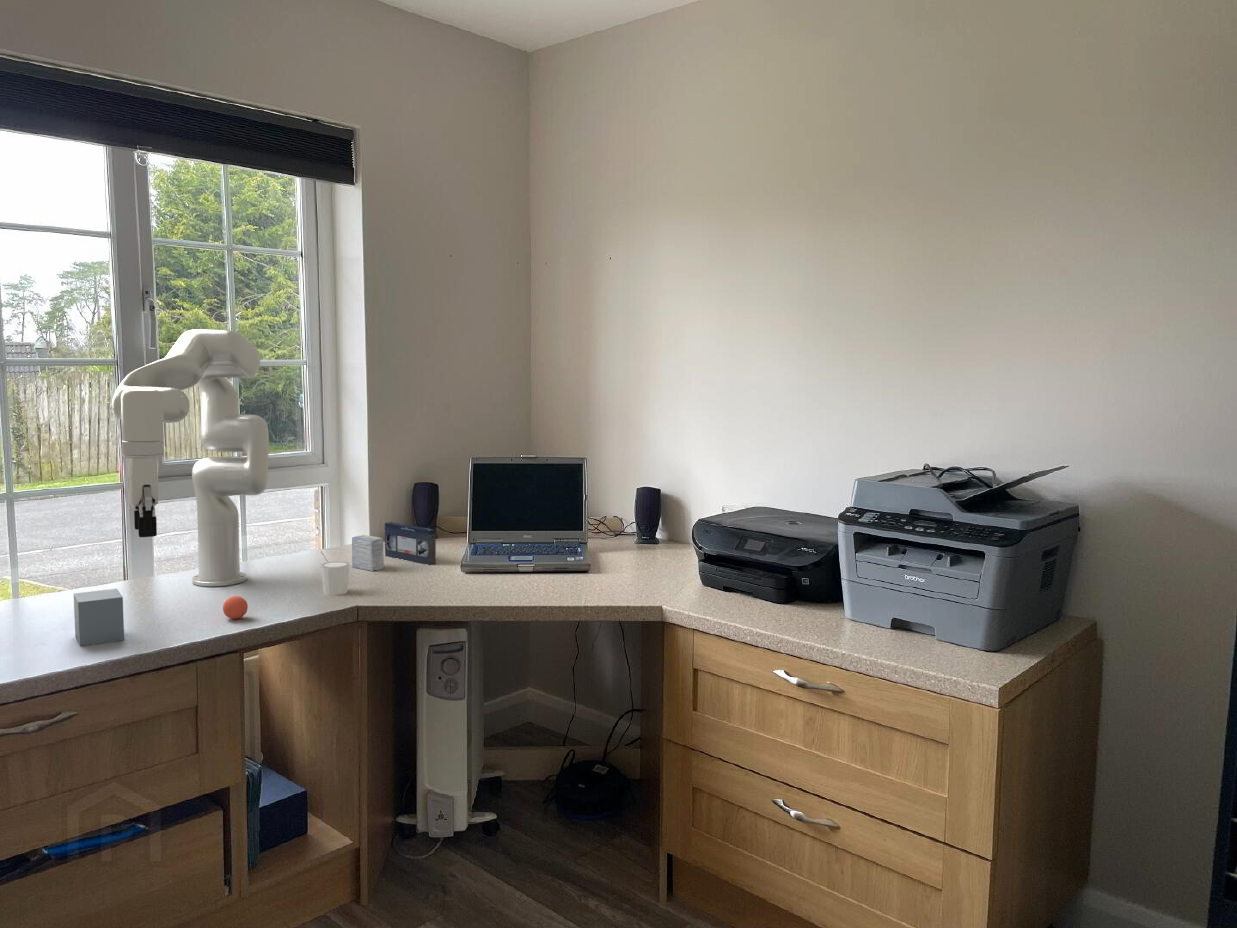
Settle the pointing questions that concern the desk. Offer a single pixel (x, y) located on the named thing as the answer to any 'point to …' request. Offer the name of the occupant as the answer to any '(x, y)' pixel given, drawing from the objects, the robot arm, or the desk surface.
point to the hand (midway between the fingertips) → (145, 532)
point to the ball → (235, 607)
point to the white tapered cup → (335, 577)
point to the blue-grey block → (98, 616)
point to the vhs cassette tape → (410, 543)
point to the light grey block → (367, 552)
